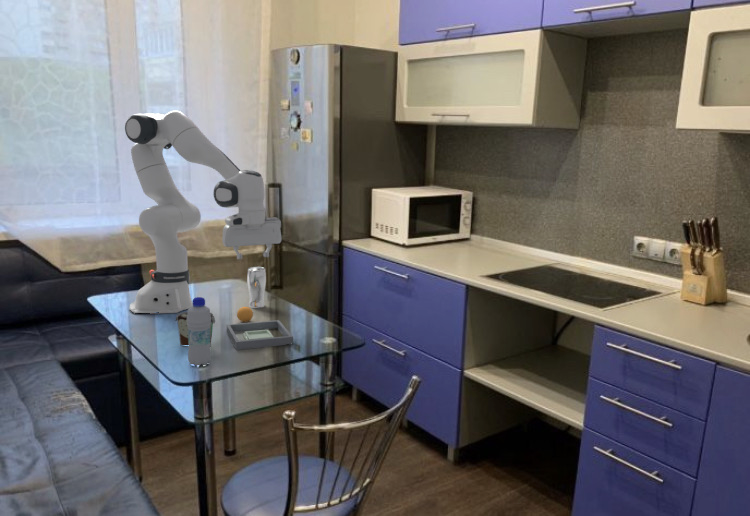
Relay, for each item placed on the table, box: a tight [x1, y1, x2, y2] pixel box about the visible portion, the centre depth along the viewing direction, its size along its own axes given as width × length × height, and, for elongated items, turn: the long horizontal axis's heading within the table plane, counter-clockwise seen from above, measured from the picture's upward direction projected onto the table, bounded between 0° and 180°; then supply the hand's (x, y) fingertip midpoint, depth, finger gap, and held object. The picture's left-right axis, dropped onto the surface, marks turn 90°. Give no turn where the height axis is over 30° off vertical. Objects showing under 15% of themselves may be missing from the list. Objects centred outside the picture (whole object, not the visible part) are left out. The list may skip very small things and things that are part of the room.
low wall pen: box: [225, 319, 294, 351], centre depth 192 cm, size 18×18×2 cm
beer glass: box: [246, 266, 267, 309], centre depth 226 cm, size 7×7×15 cm
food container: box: [175, 310, 216, 348], centre depth 184 cm, size 12×6×10 cm, turn 84°
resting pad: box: [242, 329, 274, 340], centre depth 193 cm, size 9×9×1 cm
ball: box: [236, 306, 254, 323], centre depth 208 cm, size 6×6×6 cm
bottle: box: [187, 296, 212, 366], centre depth 166 cm, size 7×7×20 cm
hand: (253, 257), depth 204 cm, fingers open, 8 cm apart
